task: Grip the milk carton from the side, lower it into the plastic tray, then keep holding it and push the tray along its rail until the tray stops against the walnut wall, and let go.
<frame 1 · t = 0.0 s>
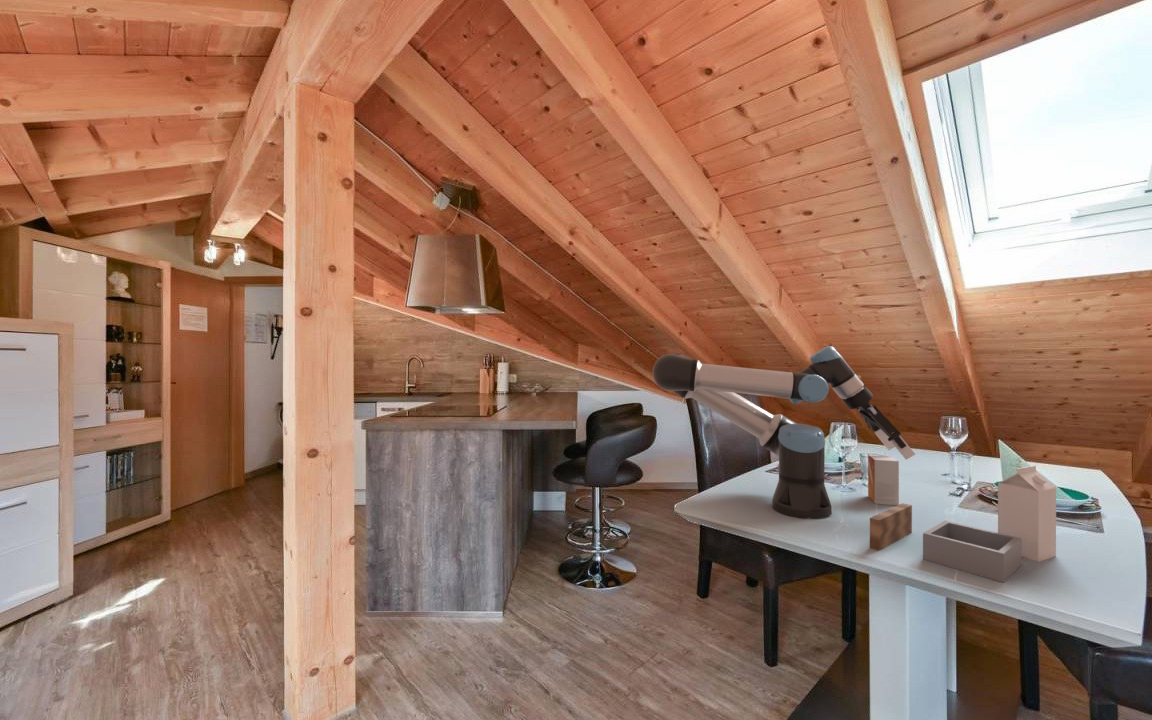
hand: (901, 452, 138), 15 cm above the table, tool tilted 35°, fingers open, 13 cm apart
walnut wall: (891, 541, 111), on the table
milk carton: (1026, 554, 104), on the table
small box: (882, 501, 142), on the table
tray: (971, 548, 99), point 3 cm above the table, slide at 0.0 cm
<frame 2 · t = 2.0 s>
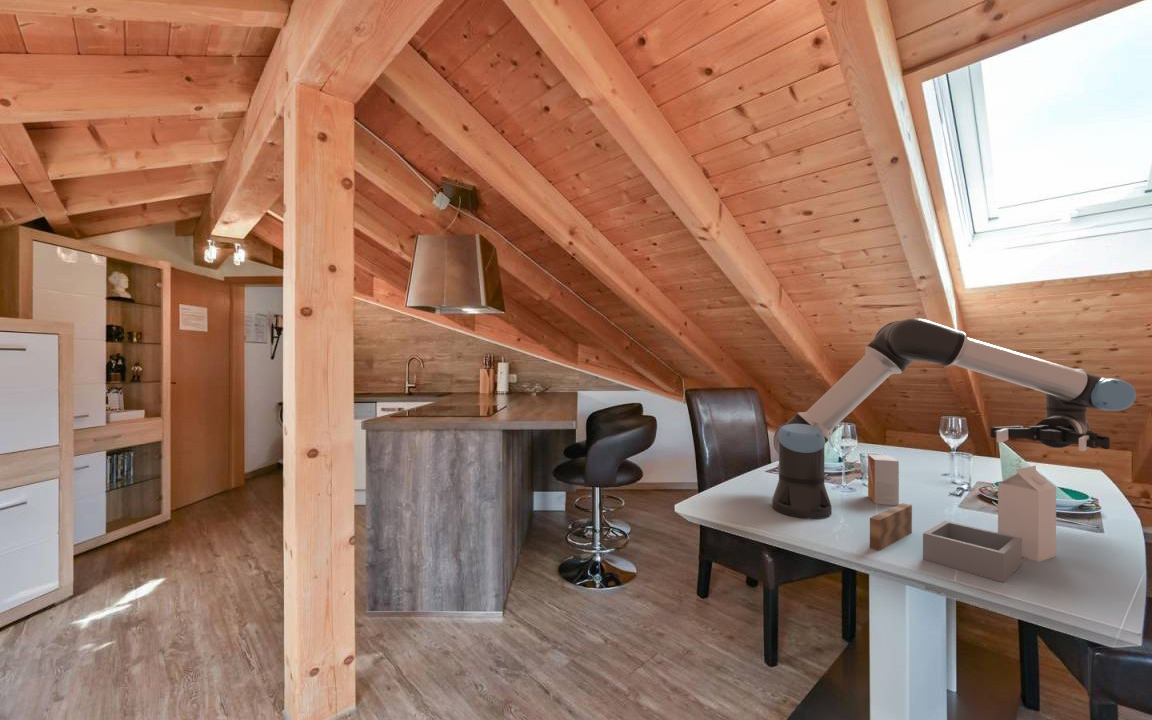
hand: (1037, 440, 108), 24 cm above the table, tool horizontal, fingers open, 13 cm apart
nothing on the table moved.
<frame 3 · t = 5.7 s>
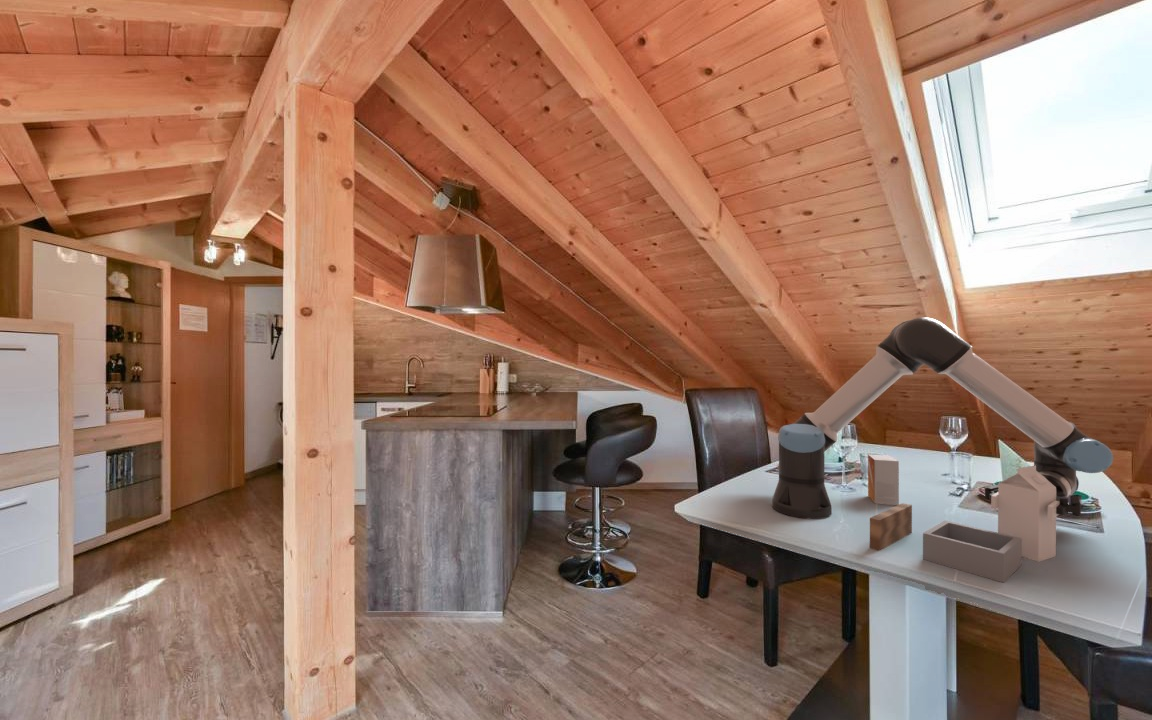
hand: (1020, 507, 101), 11 cm above the table, tool horizontal, fingers closed on milk carton, 8 cm apart
milk carton: (1026, 554, 104), on the table, touching gripper
everything else where it was.
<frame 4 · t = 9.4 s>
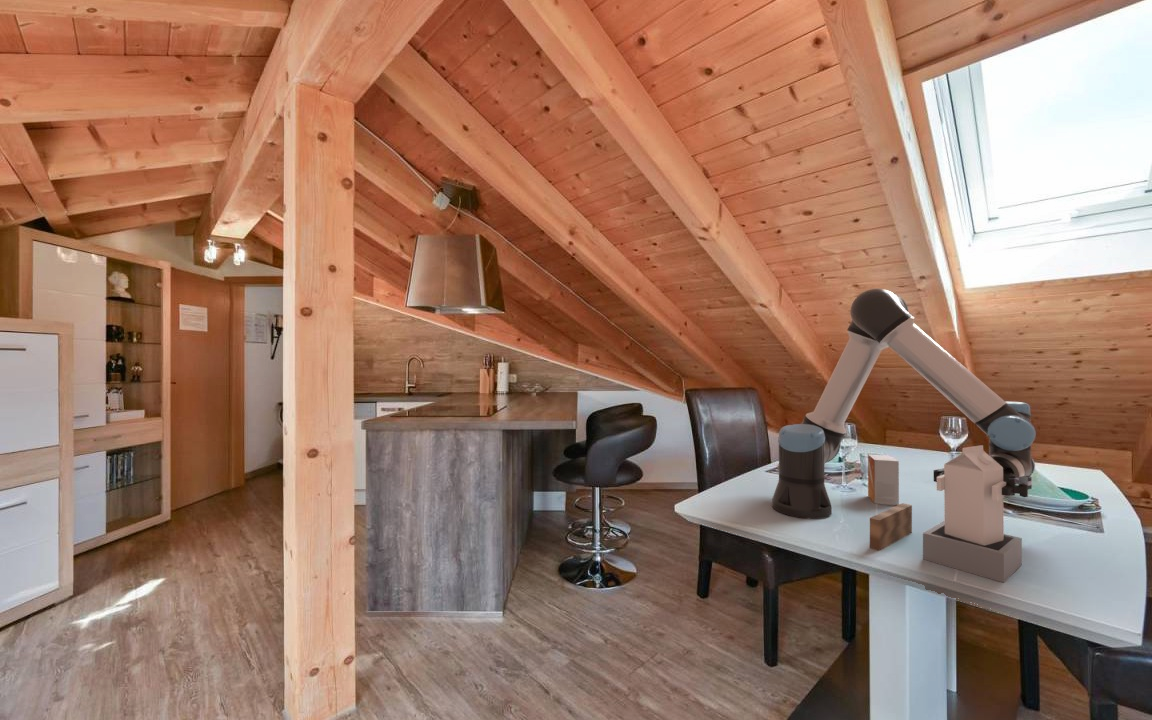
hand: (965, 488, 96), 16 cm above the table, tool horizontal, fingers closed on milk carton, 8 cm apart
milk carton: (973, 538, 99), point 5 cm above the table, touching gripper
everything else where it was.
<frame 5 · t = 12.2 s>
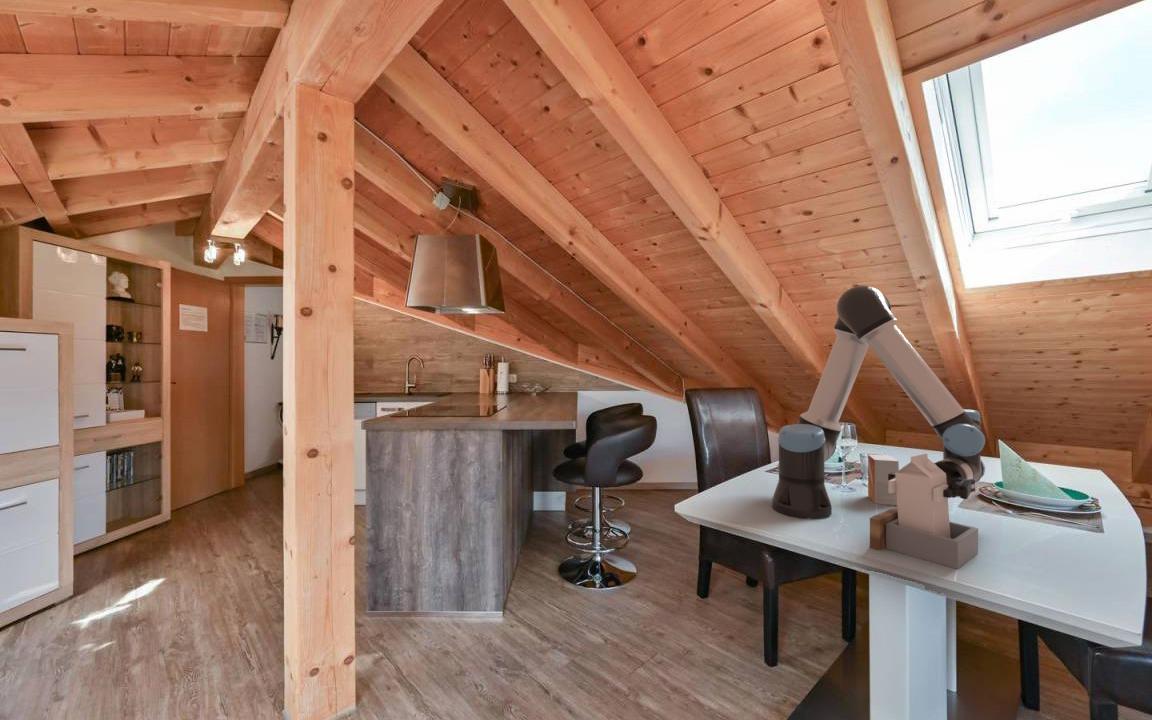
hand: (912, 491, 104), 14 cm above the table, tool horizontal, fingers closed on milk carton, 8 cm apart
milk carton: (924, 542, 106), point 2 cm above the table, touching gripper, tray
tray: (931, 538, 105), point 3 cm above the table, slide at 7.0 cm, touching milk carton
everything else where it was.
when the fingers open (14 cm above the table, at t = 13.4 s): milk carton stays where it is, resting on tray.
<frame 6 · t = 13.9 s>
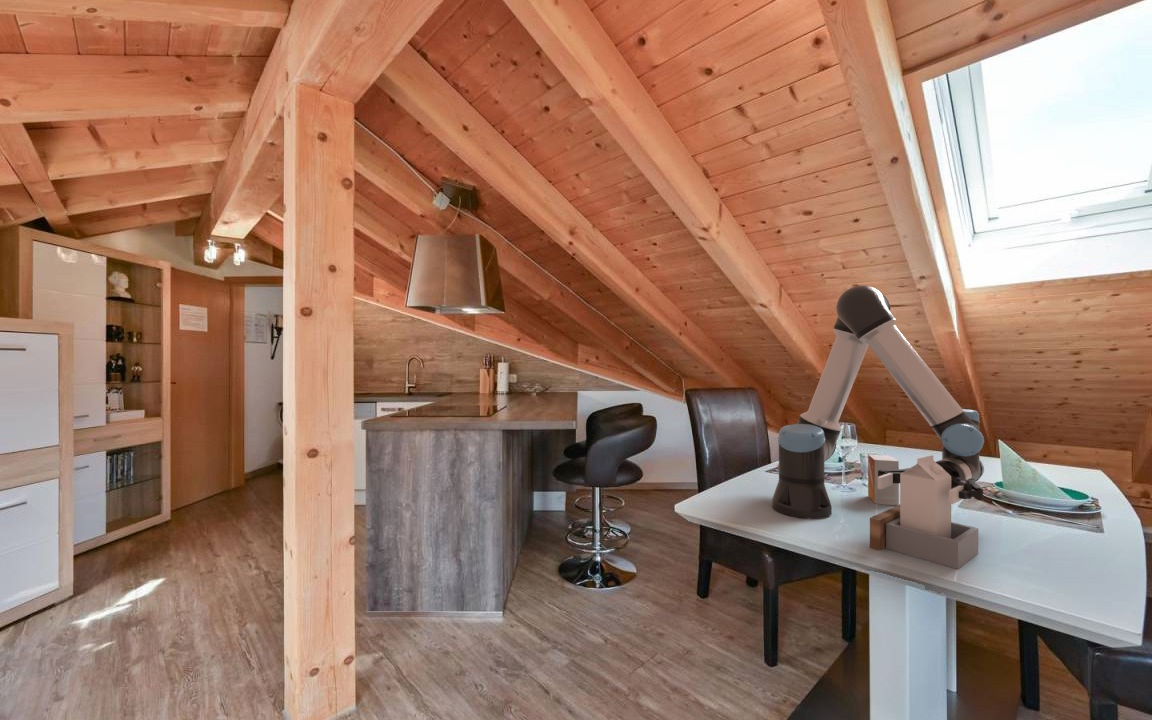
hand: (913, 489, 105), 14 cm above the table, tool horizontal, fingers open, 13 cm apart
milk carton: (925, 543, 106), point 2 cm above the table, touching tray
everything else where it was.
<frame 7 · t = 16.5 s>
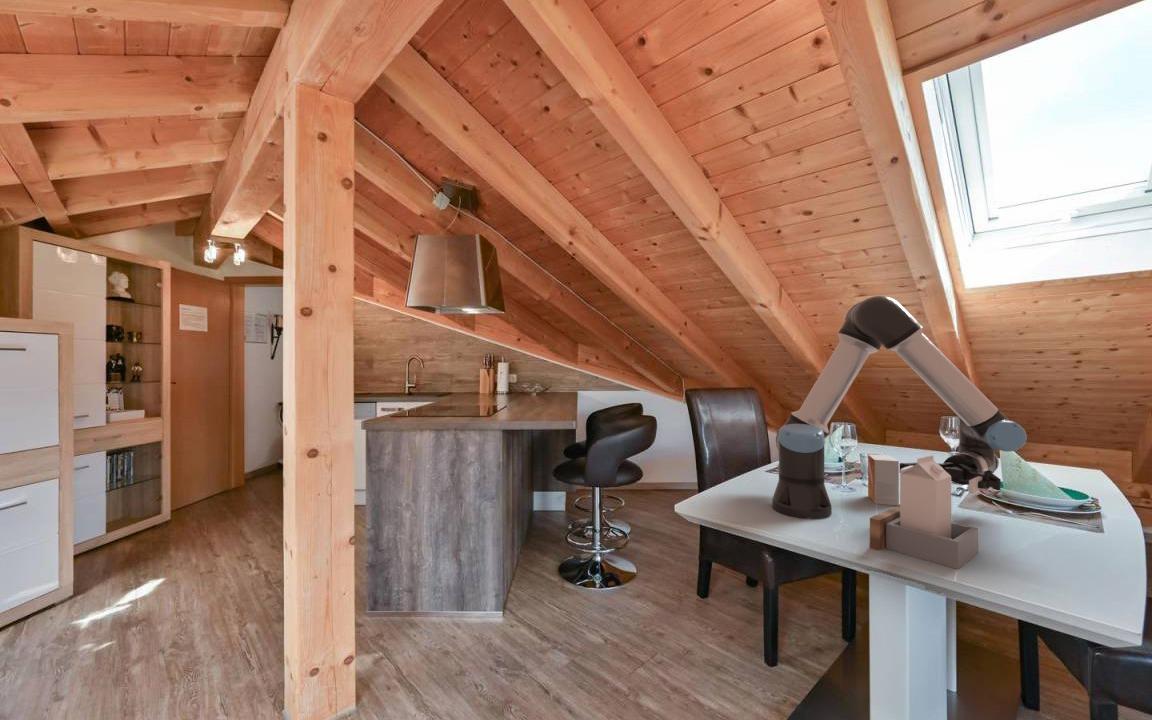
hand: (934, 480, 112), 14 cm above the table, tool horizontal, fingers open, 13 cm apart
nothing on the table moved.
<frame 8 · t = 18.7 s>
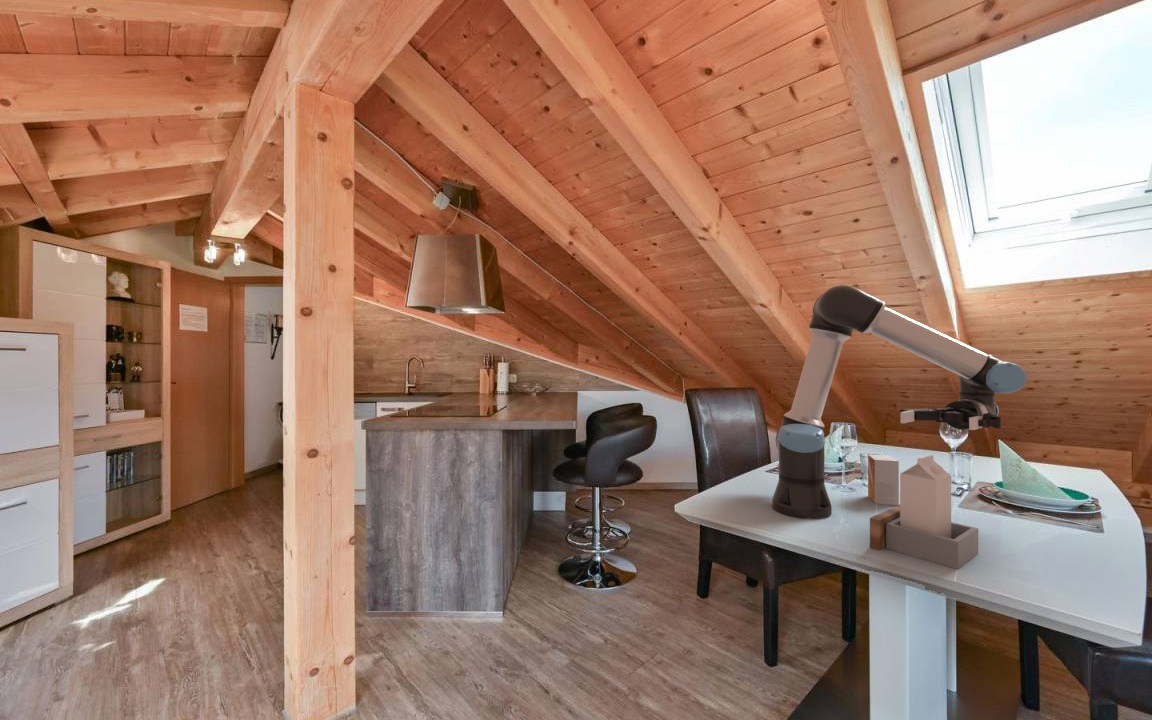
hand: (935, 420, 112), 28 cm above the table, tool horizontal, fingers open, 13 cm apart
nothing on the table moved.
at the end: tray slide at 7.0 cm; milk carton inside the target area on the tray (1.2 cm from its centre), point 1.3 cm above the tray's base; milk carton tilted 0° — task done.
